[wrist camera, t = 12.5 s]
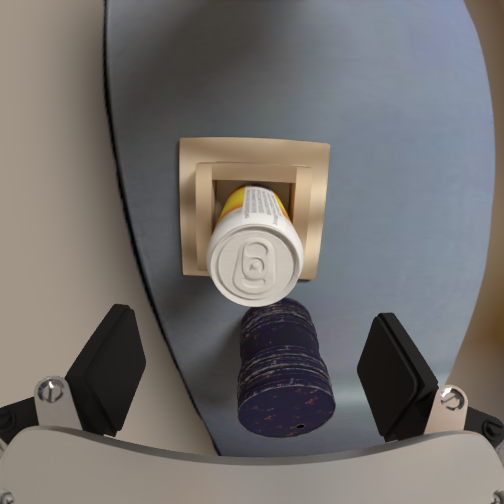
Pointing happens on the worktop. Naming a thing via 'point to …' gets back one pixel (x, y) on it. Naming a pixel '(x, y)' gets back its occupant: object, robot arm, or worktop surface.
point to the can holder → (243, 172)
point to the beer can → (254, 248)
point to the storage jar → (282, 373)
